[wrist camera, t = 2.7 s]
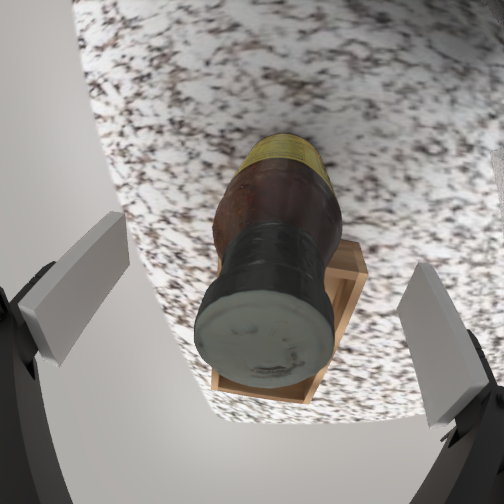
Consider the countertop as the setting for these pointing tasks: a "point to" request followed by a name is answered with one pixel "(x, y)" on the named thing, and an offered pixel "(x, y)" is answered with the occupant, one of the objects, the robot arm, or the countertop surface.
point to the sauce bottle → (272, 269)
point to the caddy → (343, 302)
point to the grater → (499, 177)
